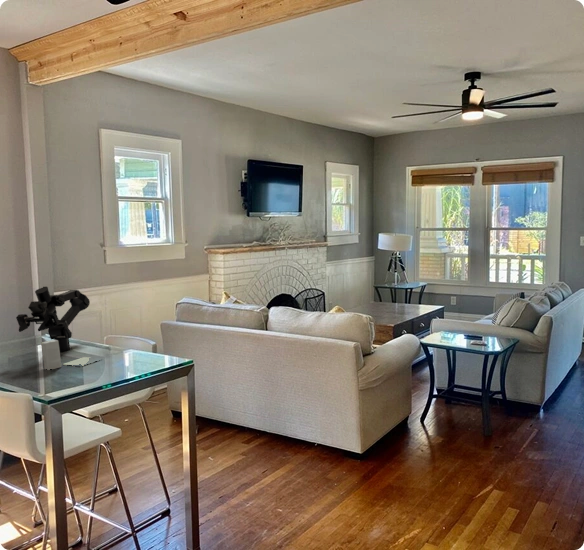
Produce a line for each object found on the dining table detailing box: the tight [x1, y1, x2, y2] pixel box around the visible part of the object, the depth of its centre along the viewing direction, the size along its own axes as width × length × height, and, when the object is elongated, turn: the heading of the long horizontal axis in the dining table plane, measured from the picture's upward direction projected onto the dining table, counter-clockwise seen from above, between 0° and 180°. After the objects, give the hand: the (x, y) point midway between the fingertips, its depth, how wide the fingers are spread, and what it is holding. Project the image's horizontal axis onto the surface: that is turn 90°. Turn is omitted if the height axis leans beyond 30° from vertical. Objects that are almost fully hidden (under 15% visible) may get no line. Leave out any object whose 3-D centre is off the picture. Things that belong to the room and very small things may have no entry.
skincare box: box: [41, 339, 63, 371], centre depth 238 cm, size 6×4×12 cm
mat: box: [62, 356, 90, 367], centre depth 246 cm, size 12×12×1 cm
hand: (28, 330), depth 245 cm, fingers open, 9 cm apart
